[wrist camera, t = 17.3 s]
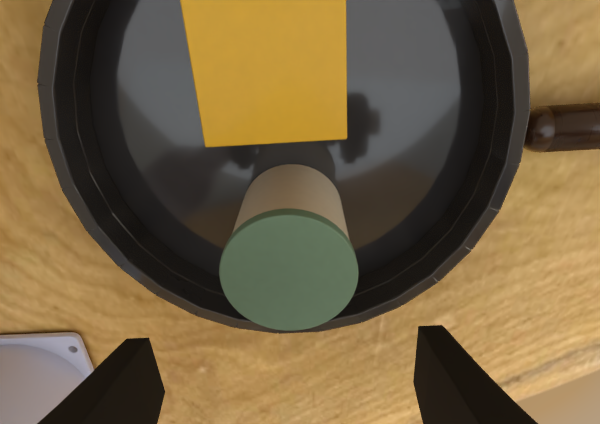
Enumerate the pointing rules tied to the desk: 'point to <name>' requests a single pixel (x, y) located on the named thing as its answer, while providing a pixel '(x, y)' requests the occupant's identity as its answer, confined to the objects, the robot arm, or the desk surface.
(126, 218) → the pan
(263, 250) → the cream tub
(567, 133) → the pan handle
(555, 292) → the desk surface
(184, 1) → the yellow block
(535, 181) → the desk surface
